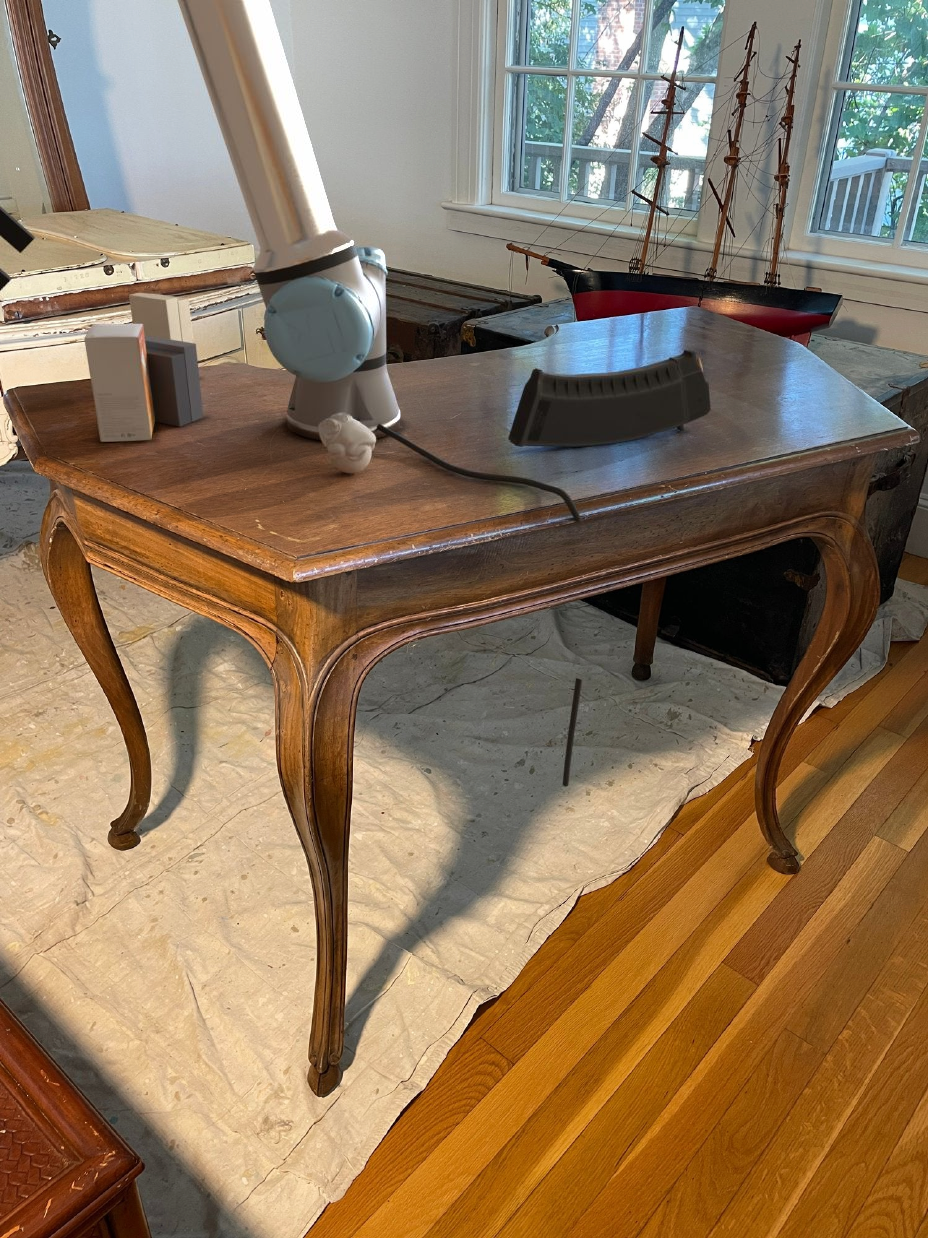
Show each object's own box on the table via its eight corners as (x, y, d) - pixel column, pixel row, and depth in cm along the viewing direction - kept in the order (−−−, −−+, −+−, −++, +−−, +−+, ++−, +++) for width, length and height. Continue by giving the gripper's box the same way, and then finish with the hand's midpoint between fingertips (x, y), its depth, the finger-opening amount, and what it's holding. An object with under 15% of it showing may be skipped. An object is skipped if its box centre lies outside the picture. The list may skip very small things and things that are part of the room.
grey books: (203, 417, 126) (195, 343, 121) (179, 426, 122) (170, 350, 117) (158, 408, 129) (148, 335, 124) (133, 417, 125) (122, 342, 120)
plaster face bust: (331, 459, 113) (329, 404, 110) (384, 467, 112) (384, 410, 108) (311, 476, 108) (308, 418, 105) (367, 484, 107) (366, 425, 103)
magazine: (506, 388, 111) (704, 301, 118) (493, 381, 114) (688, 296, 121) (532, 508, 121) (713, 421, 129) (520, 499, 124) (698, 414, 131)
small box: (152, 441, 117) (138, 336, 110) (99, 442, 115) (82, 337, 109) (156, 421, 124) (143, 322, 117) (106, 423, 122) (91, 322, 116)
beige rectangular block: (197, 378, 143) (188, 294, 137) (176, 385, 139) (165, 300, 133) (162, 372, 145) (151, 289, 139) (140, 379, 141) (128, 294, 135)
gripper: (-141, 109, 109) (18, 248, 121) (-227, 171, 90) (-29, 327, 103) (-104, 64, 106) (55, 210, 119) (-185, 118, 88) (13, 284, 100)
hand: (16, 265), depth 111 cm, fingers open, 13 cm apart
